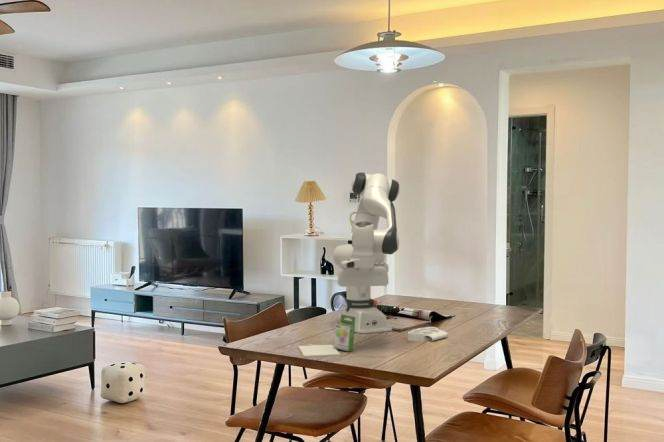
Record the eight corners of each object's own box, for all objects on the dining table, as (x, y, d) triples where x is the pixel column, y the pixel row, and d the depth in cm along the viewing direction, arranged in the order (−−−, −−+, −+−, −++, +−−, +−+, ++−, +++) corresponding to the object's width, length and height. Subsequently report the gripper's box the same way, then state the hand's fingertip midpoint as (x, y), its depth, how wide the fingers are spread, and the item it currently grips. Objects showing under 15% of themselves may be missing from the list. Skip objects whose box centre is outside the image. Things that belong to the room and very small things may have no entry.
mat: (332, 346, 268) (332, 344, 268) (340, 355, 252) (340, 353, 252) (298, 347, 265) (298, 346, 265) (304, 357, 249) (304, 355, 249)
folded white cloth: (427, 344, 272) (400, 339, 282) (452, 337, 285) (424, 332, 295) (427, 336, 272) (400, 331, 282) (452, 330, 285) (424, 325, 295)
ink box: (333, 348, 261) (336, 315, 260) (338, 347, 264) (341, 314, 264) (347, 351, 257) (350, 317, 256) (353, 350, 260) (356, 317, 260)
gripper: (386, 261, 265) (386, 295, 266) (336, 262, 262) (336, 296, 262) (390, 263, 259) (390, 297, 260) (340, 263, 255) (339, 299, 256)
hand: (363, 297), depth 261 cm, fingers closed
